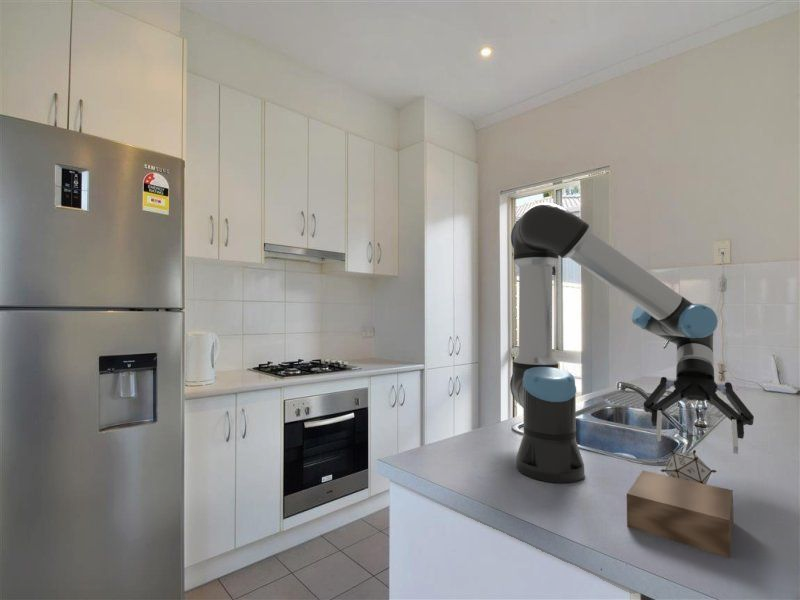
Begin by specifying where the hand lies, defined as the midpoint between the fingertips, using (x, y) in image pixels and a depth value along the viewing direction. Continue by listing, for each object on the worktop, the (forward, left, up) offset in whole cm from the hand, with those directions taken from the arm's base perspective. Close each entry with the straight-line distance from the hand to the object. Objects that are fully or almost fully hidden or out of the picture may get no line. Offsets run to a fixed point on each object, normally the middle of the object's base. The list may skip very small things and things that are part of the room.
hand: (695, 444), depth 89 cm
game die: (-3, -3, -9) cm, 10 cm away
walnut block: (-11, -19, -9) cm, 24 cm away
